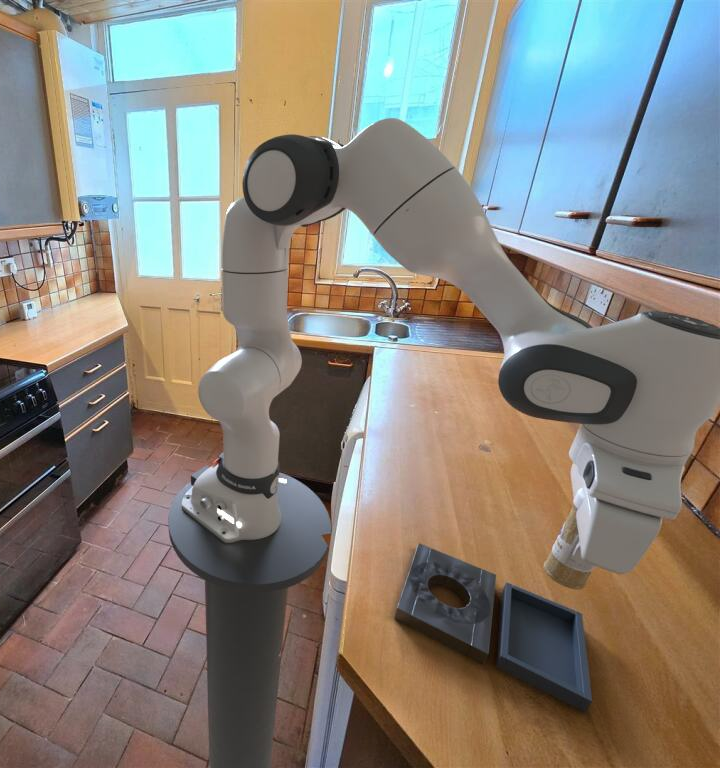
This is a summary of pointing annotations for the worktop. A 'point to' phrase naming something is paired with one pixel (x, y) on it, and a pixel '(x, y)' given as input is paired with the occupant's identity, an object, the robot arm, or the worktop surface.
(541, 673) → the basin tray
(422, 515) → the worktop surface
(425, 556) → the drain plate
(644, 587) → the worktop surface
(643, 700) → the worktop surface
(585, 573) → the sprinkles bottle
